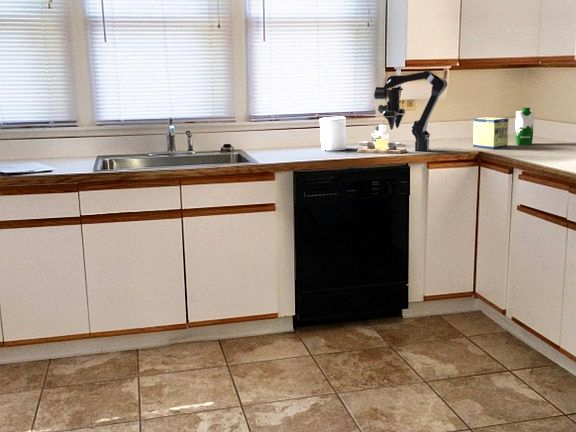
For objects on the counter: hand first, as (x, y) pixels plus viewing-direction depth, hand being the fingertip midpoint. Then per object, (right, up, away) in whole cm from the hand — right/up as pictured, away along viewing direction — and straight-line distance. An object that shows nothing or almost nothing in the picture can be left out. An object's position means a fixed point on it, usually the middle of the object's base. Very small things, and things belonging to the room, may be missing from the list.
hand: (394, 128), depth 369 cm
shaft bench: (-7, -13, -4) cm, 15 cm away
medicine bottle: (-4, -7, +22) cm, 24 cm away
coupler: (-7, -11, -4) cm, 14 cm away
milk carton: (+71, -8, +5) cm, 72 cm away
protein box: (+51, -10, -2) cm, 52 cm away
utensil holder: (-32, -10, +15) cm, 37 cm away
